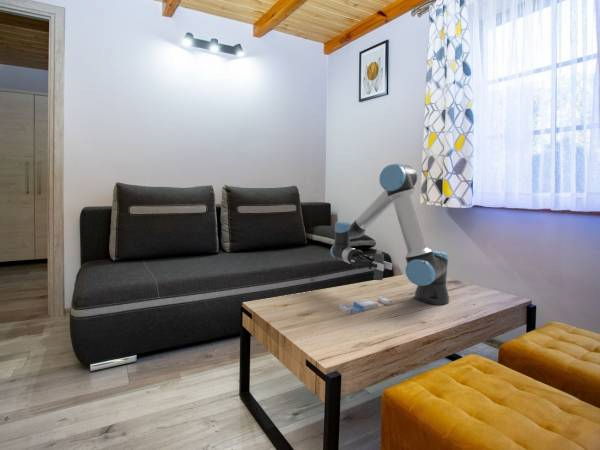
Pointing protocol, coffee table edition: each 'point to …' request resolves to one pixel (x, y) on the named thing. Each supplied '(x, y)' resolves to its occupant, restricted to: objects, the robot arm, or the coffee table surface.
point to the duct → (363, 305)
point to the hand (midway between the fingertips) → (387, 267)
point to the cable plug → (379, 259)
